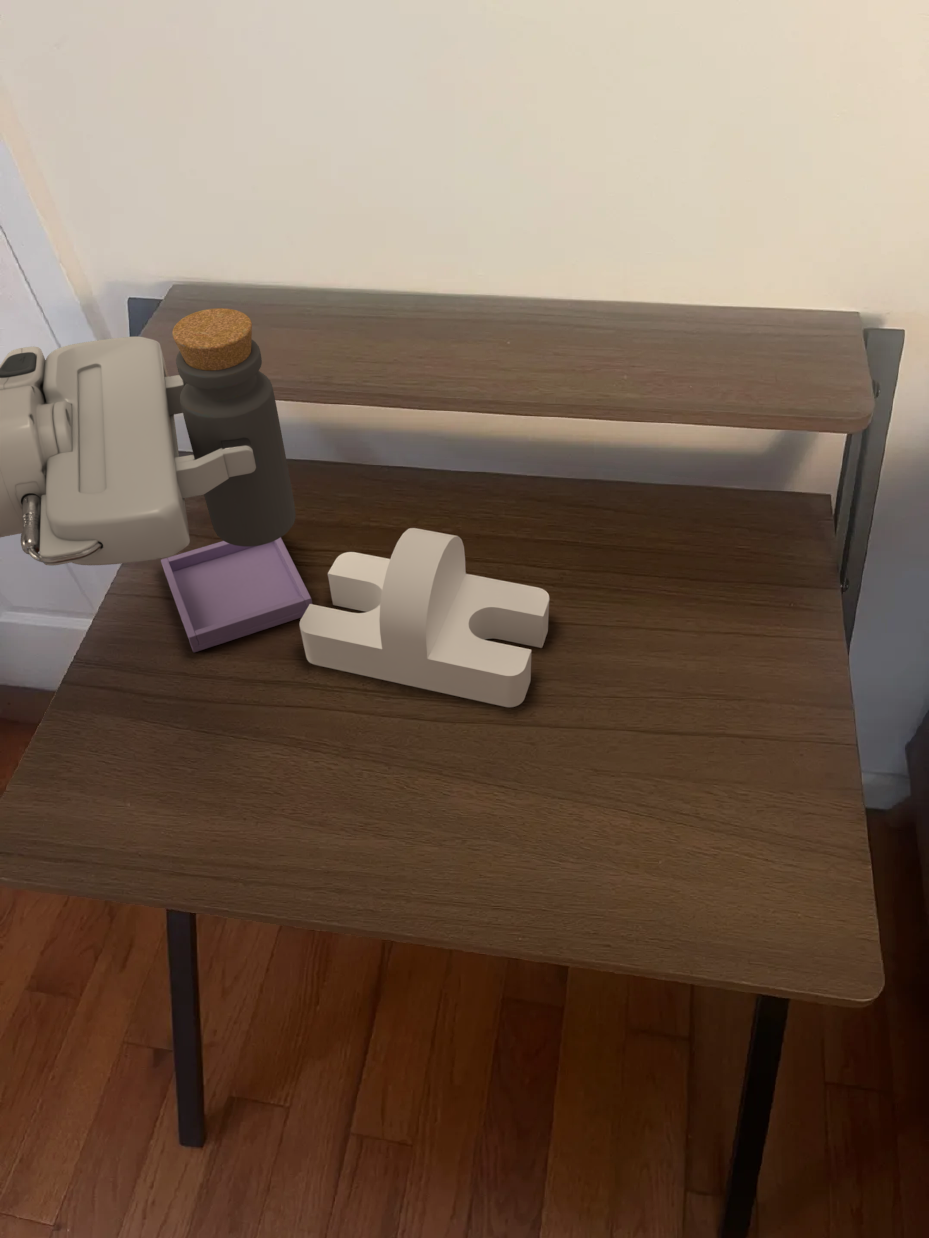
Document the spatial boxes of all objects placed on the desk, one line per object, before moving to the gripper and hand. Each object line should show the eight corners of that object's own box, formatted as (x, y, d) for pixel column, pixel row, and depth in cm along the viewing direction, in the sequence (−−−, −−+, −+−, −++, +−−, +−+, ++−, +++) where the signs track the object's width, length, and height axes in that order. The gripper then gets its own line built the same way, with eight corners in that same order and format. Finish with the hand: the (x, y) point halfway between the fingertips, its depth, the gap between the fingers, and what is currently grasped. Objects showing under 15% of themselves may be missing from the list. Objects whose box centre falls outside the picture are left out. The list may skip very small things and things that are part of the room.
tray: (193, 653, 81) (188, 637, 80) (165, 574, 88) (160, 559, 87) (314, 613, 84) (311, 598, 83) (278, 540, 91) (274, 525, 89)
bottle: (313, 511, 72) (281, 317, 61) (258, 558, 68) (214, 362, 58) (250, 485, 74) (209, 294, 63) (195, 529, 71) (141, 335, 60)
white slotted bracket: (520, 710, 76) (522, 615, 69) (301, 661, 80) (280, 567, 73) (551, 621, 83) (555, 526, 75) (346, 581, 87) (331, 487, 80)
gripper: (-1, 525, 54) (258, 477, 56) (14, 335, 68) (221, 304, 70) (38, 608, 59) (276, 561, 61) (44, 415, 72) (238, 382, 75)
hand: (246, 422), depth 66 cm, fingers closed on bottle, 6 cm apart
